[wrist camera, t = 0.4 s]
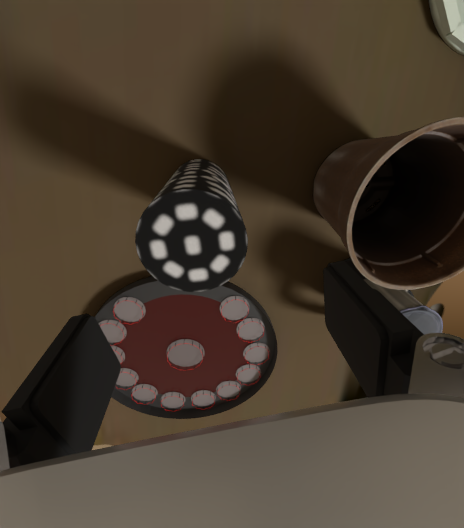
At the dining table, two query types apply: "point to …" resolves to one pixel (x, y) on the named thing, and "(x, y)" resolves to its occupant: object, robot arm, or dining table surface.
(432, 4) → the pale green faceted plate
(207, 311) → the palette wheel
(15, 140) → the dining table surface
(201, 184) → the white-spotted black cylinder
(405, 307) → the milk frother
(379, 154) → the plant pot
